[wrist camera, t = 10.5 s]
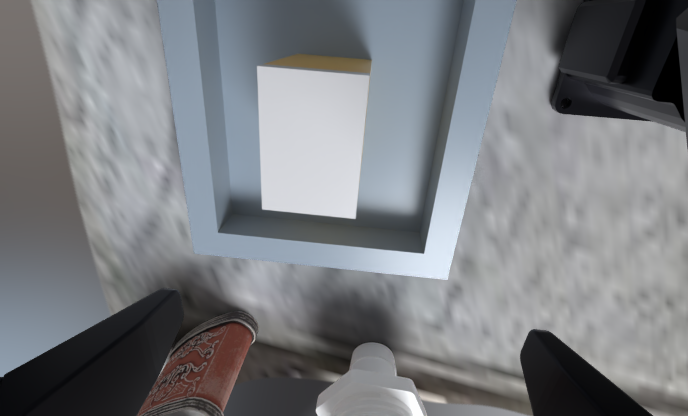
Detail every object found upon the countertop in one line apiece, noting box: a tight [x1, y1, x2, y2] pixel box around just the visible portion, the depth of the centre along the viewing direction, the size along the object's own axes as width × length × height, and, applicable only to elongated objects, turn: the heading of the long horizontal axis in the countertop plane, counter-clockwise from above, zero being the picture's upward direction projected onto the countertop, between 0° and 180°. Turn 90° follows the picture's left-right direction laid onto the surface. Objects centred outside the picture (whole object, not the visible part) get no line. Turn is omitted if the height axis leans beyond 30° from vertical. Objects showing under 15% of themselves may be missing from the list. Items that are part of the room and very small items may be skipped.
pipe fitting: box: [316, 342, 427, 416], centre depth 23 cm, size 6×7×8 cm
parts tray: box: [157, 0, 517, 280], centre depth 17 cm, size 14×16×3 cm
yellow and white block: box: [257, 54, 372, 219], centre depth 15 cm, size 4×5×6 cm
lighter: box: [137, 311, 259, 416], centre depth 23 cm, size 8×3×10 cm, turn 126°
